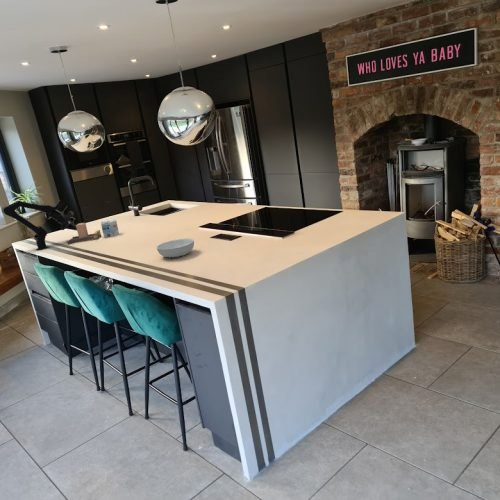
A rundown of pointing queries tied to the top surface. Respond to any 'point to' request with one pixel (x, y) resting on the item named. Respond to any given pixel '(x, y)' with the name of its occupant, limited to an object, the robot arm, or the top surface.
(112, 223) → the light bulb box
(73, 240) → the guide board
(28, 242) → the top surface
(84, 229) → the marker sleeve
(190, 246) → the serving bowl
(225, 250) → the top surface
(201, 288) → the top surface
